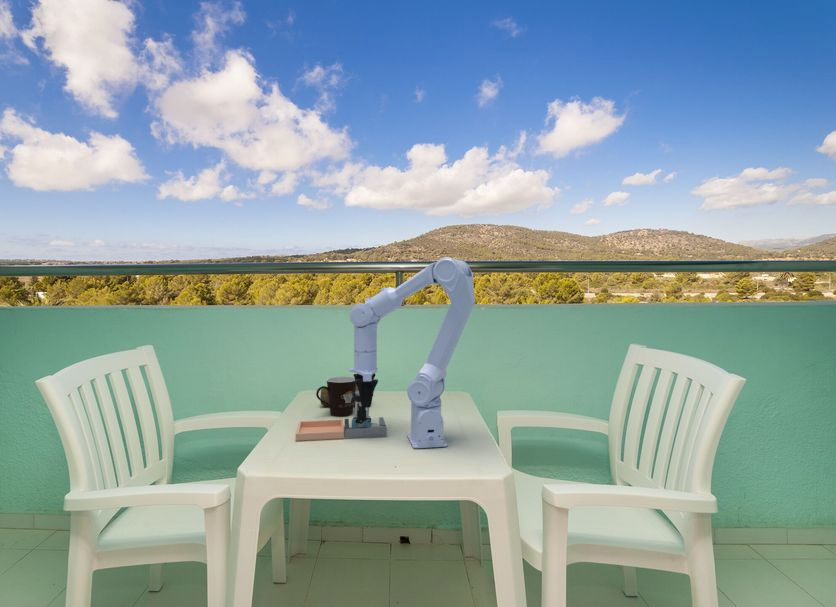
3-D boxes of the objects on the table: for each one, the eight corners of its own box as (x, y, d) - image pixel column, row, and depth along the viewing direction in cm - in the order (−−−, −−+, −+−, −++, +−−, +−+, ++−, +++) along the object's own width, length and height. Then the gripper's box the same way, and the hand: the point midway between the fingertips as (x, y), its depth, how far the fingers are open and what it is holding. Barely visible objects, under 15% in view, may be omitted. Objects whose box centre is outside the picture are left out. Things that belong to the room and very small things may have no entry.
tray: (343, 439, 107) (343, 431, 107) (295, 441, 105) (295, 433, 105) (342, 426, 117) (342, 419, 117) (298, 428, 115) (298, 421, 115)
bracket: (386, 436, 110) (386, 427, 109) (345, 438, 108) (345, 428, 108) (382, 426, 118) (382, 417, 118) (344, 428, 116) (344, 418, 116)
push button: (378, 426, 116) (379, 388, 116) (375, 433, 111) (377, 393, 110) (352, 425, 116) (354, 387, 116) (348, 431, 111) (350, 392, 110)
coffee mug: (354, 409, 135) (354, 376, 134) (358, 416, 126) (358, 381, 126) (315, 411, 132) (315, 377, 131) (316, 419, 123) (316, 383, 123)
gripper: (348, 347, 119) (348, 398, 120) (350, 355, 105) (350, 412, 105) (374, 347, 121) (374, 397, 121) (380, 354, 106) (380, 411, 107)
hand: (365, 404), depth 113 cm, fingers closed on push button, 5 cm apart
